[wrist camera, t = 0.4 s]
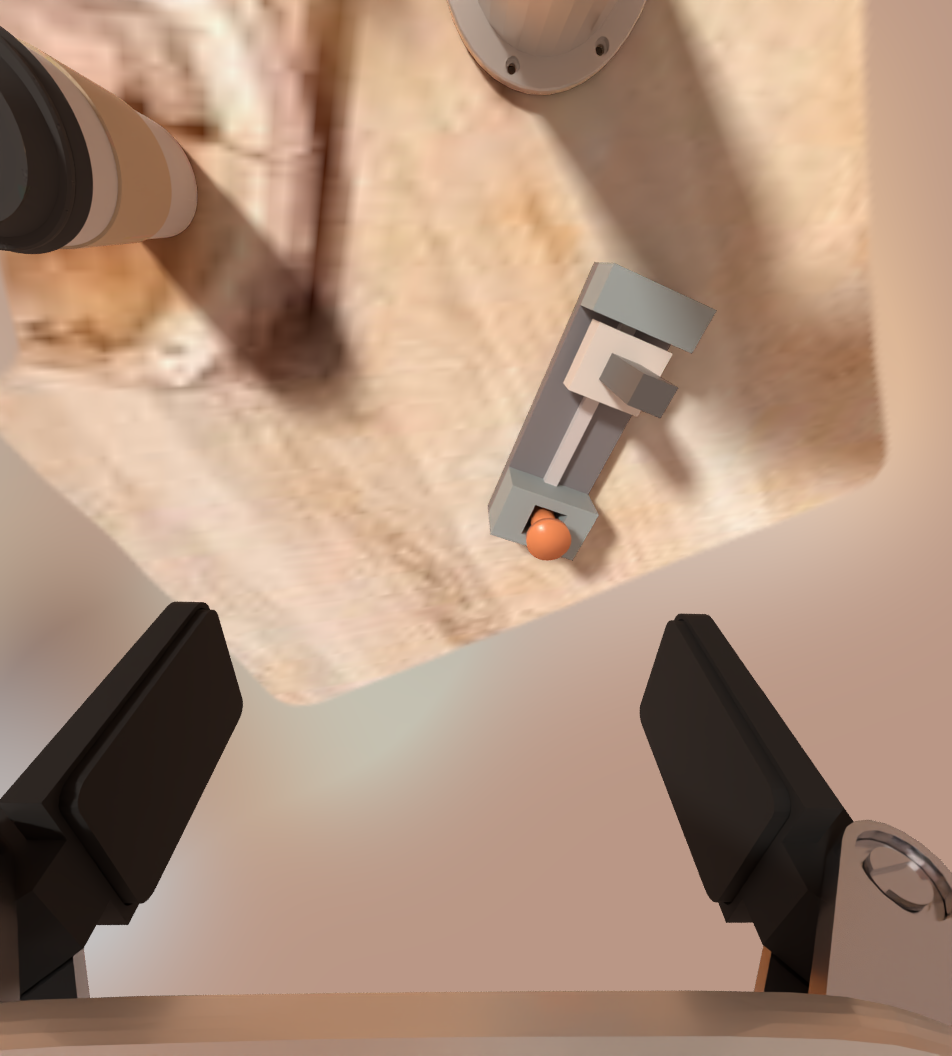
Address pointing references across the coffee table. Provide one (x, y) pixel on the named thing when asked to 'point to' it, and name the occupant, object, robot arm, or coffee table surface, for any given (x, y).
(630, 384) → the carriage
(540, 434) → the rail board
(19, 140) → the coffee cup
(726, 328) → the coffee table surface
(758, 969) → the robot arm
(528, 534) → the button
